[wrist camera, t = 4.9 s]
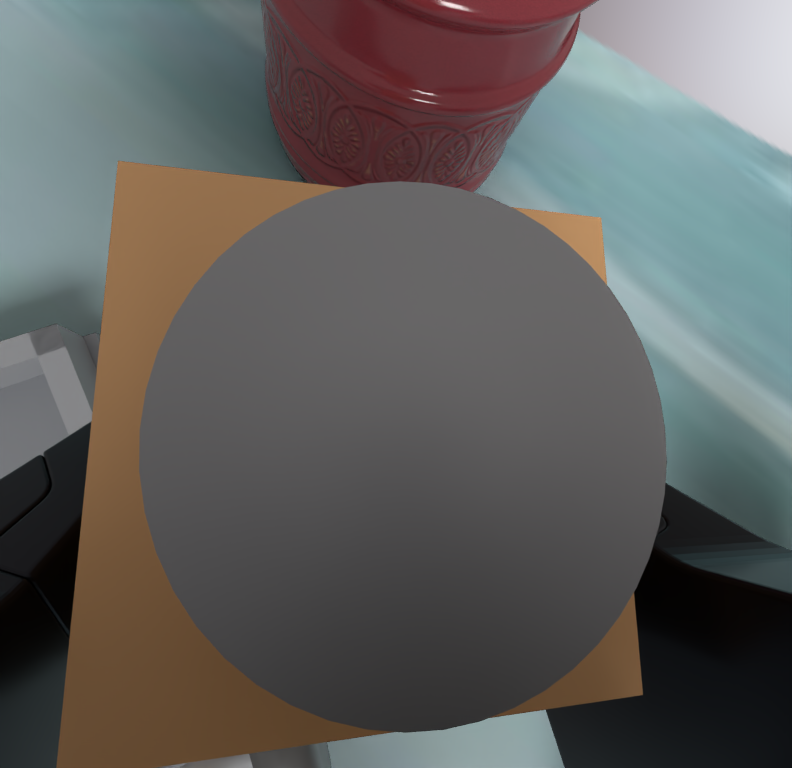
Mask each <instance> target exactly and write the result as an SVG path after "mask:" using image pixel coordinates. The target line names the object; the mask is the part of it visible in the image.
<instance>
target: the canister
mask: <svg viewBox="0 0 792 768" xmlns="http://www.w3.org/2000/svg"><path fill="white" fill-rule="evenodd" d="M597 1H598V0H261V6H262V16H263V25H264V35H265V44H266V54H267V55H266V63H265V82H266V89H267V97H268V104H269V109H270V113H271V116H272V119H273V123H274V125H275V128H276V130H277V133H278V135H279V137H280V140H281V143H282V145H283V148H284V150H285V152H286V154H287V156H288V157H289V159H290V161H291V162H292V164H293V165H294V167H295V168H296V170H297V171H298V172H299V174H300V175H301V176H302V177H303V178H304V179H305V180H306V181H307V183H310V184H319V185H327V186H336V187H344V188H346V187H352V186H357V185H362V184H367V183H382V182H398V181H402V182H418V183H432V184H437V185H443V186H448V187H453V188H459V189H463V190H466V191H469V192H474V191H475V190H476V189H478V188H479V186H480V185H481V184H482V183H483V182H484V181H485V180H486V178H487V177H488V176H489V174H490V173H491V171H492V170H493V168H494V167H495V166H496V164H497V162H498V161H499V159H500V157H501V155H502V153H503V151H504V148H505V146H506V143H507V141H508V139H509V138H510V136H511V134H512V133H513V131H514V130H515V128H516V127H517V125H518V124H519V122H520V121H521V119H522V118H523V116H524V115H525V113H526V111H527V110H528V108H529V107H530V105H531V104H532V102H533V101H534V99H535V98H536V96H537V95H538V93H539V91H540V90H541V89H542V88H543V87H544V86H546V85H547V84H548V83H549V82H550V81H551V80H552V79H553V77H554V76H555V75H556V74H557V72H558V71H559V70H560V69H561V67H562V65H563V64H564V62H565V61H566V59H567V57H568V55H569V53H570V51H571V49H572V46H573V44H574V41H575V38H576V34H577V31H578V27H579V21H580V13H581V12H582V11H583V10H584V9H586V8H588V7H590V6H591V5H593V4H594V3H596V2H597Z"/></svg>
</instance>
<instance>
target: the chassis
mask: <svg viewBox="0 0 792 768" xmlns="http://www.w3.org/2000/svg"><path fill="white" fill-rule="evenodd" d="M99 344H100V335H99V334H97V333H93V334H90V335H87V336H84V337H83V336H81V335H79V334H77V333H75V332H73V331H71V330H69V329H66V328H64V327H62V326H60V325H58V324H53V325H50V326H47V327H44V328H41V329H38V330H34V331H31V332H28V333H25V334H22V335H19V336H16V337H13V338H9V339H6V340H3V341H0V479H1V478H3V477H4V476H6V475H7V474H9V473H11V472H12V471H14V470H16V469H17V468H19V467H20V466H22V465H23V464H25V463H26V462H28V461H30V460H31V459H33V458H34V457H36V456H37V455H43V452H44V451H45V450H47V449H49V448H50V447H52V446H53V445H55V444H56V443H58V442H60V441H61V440H63V439H64V438H66V437H67V436H69V435H70V434H72V433H74V432H75V431H77V430H78V429H80V428H81V427H83V426H84V425H86V424H88V423H89V422H91V421H92V413H93V403H94V393H95V383H96V373H97V363H98V353H99ZM43 457H44V456H43ZM156 768H331V761H330V756H329V751H328V746H327V742H324V743H317V744H310V745H304V746H297V747H290V748H283V749H277V750H270V751H263V752H256V753H250V754H243V755H236V756H230V757H223V758H216V759H209V760H203V761H196V762H189V763H182V764H176V765H169V766H162V767H156Z"/></svg>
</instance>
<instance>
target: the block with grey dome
mask: <svg viewBox="0 0 792 768" xmlns="http://www.w3.org/2000/svg"><path fill="white" fill-rule="evenodd" d="M666 465H667V458H666V438H665V426H664V420H663V414H662V407H661V401H660V397H659V393H658V389H657V386H656V382H655V378H654V375H653V371H652V368H651V365H650V363H649V360H648V358H647V355H646V353H645V350H644V348H643V345H642V343H641V340H640V338H639V336H638V334H637V333H636V331H635V329H634V327H633V325H632V323H631V321H630V319H629V317H628V315H627V313H626V312H625V310H624V309H623V308H622V306H621V305H620V303H619V302H618V300H617V299H616V297H615V296H614V294H613V293H612V291H611V290H610V288H609V287H608V286H607V280H606V269H605V257H604V246H603V235H602V223H601V218H599V217H590V216H582V215H573V214H565V213H556V212H548V211H539V210H531V209H522V208H514V207H509V206H507V205H505V204H503V203H500V202H498V201H496V200H494V199H491V198H489V197H485V196H482V195H479V194H476V193H473V192H469V191H466V190H463V189H459V188H453V187H448V186H443V185H437V184H432V183H418V182H402V181H398V182H382V183H367V184H362V185H357V186H352V187H346V188H344V187H336V186H327V185H319V184H310V183H302V182H293V181H285V180H276V179H268V178H259V177H251V176H243V175H234V174H226V173H217V172H209V171H200V170H192V169H183V168H175V167H166V166H158V165H149V164H141V163H132V162H124V161H118V167H117V176H116V186H115V196H114V206H113V216H112V226H111V235H110V245H109V255H108V265H107V275H106V285H105V294H104V304H103V314H102V324H101V334H100V344H99V353H98V363H97V373H96V383H95V393H94V403H93V413H92V422H91V432H90V442H89V452H88V462H87V472H86V481H85V491H84V501H83V511H82V521H81V531H80V540H79V550H78V560H77V570H76V580H75V590H74V599H73V609H72V619H71V629H70V639H69V649H68V659H67V668H66V678H65V688H64V698H63V708H62V718H61V727H60V737H59V747H58V757H57V767H56V768H156V767H162V766H169V765H176V764H182V763H189V762H196V761H203V760H209V759H216V758H223V757H230V756H236V755H243V754H250V753H256V752H263V751H270V750H277V749H283V748H290V747H297V746H304V745H310V744H317V743H324V742H330V741H337V740H344V739H351V738H357V737H364V736H371V735H377V734H384V733H391V732H419V731H432V730H444V729H448V728H453V727H457V726H462V725H466V724H470V723H475V722H479V721H482V720H485V719H487V718H492V717H499V716H505V715H512V714H519V713H525V712H532V711H539V710H546V709H552V708H559V707H566V706H572V705H579V704H586V703H593V702H599V701H606V700H613V699H620V698H626V697H633V696H640V695H643V689H642V678H641V666H640V655H639V643H638V632H637V621H636V609H635V598H634V591H635V589H636V588H637V585H638V583H639V581H640V578H641V576H642V574H643V571H644V569H645V567H646V564H647V562H648V560H649V558H650V554H651V551H652V548H653V544H654V541H655V538H656V534H657V531H658V528H659V523H660V517H661V512H662V506H663V500H664V495H665V481H666Z"/></svg>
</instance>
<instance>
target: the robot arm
mask: <svg viewBox="0 0 792 768" xmlns="http://www.w3.org/2000/svg"><path fill="white" fill-rule="evenodd" d="M91 422H92V421H91ZM91 422H89V423H88V424H86V425H84V426H83V427H81V428H80V429H78V430H77V431H75V432H74V433H72V434H70V435H69V436H67V437H66V438H64V439H63V440H61V441H60V442H58V443H56V444H55V445H53V446H52V447H50V448H49V449H47V450H45V451H44V452H43V455H37V456H36V457H34V458H33V459H31V460H30V461H28V462H26V463H25V464H23V465H22V466H20V467H19V468H17V469H16V470H14V471H12V472H11V473H9V474H7V475H6V476H4V477H3V478H1V479H0V768H56V767H57V757H58V747H59V737H60V727H61V718H62V708H63V698H64V688H65V678H66V668H67V659H68V649H69V639H70V629H71V619H72V609H73V599H74V590H75V580H76V570H77V560H78V550H79V540H80V531H81V521H82V511H83V501H84V491H85V481H86V472H87V462H88V452H89V442H90V432H91ZM43 456H44V457H43ZM634 598H635V609H636V621H637V632H638V643H639V655H640V666H641V678H642V689H643V695H640V696H633V697H626V698H620V699H613V700H606V701H599V702H593V703H586V704H579V705H572V706H566V707H559V708H552V709H546V712H547V715H548V718H549V721H550V724H551V727H552V730H553V733H554V736H555V739H556V742H557V746H558V749H559V752H560V755H561V758H562V761H563V764H564V767H565V768H792V550H789V549H786V548H783V547H781V546H778V545H776V544H774V543H771V542H769V541H767V540H765V539H763V538H761V537H759V536H757V535H756V534H754V533H752V532H750V531H749V530H747V529H745V528H743V527H741V526H740V525H738V524H736V523H734V522H733V521H731V520H729V519H727V518H726V517H724V516H722V515H720V514H719V513H717V512H715V511H713V510H712V509H710V508H708V507H706V506H705V505H703V504H701V503H699V502H698V501H696V500H694V499H692V498H691V497H689V496H687V495H685V494H684V493H682V492H680V491H679V490H677V489H675V488H673V487H672V486H670V485H668V484H667V483H665V495H664V500H663V506H662V512H661V517H660V523H659V528H658V531H657V534H656V538H655V541H654V544H653V548H652V551H651V554H650V558H649V560H648V562H647V564H646V567H645V569H644V571H643V574H642V576H641V578H640V581H639V583H638V585H637V588H636V589H635V591H634Z"/></svg>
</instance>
